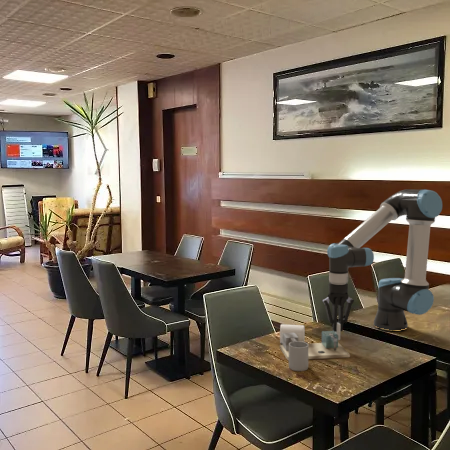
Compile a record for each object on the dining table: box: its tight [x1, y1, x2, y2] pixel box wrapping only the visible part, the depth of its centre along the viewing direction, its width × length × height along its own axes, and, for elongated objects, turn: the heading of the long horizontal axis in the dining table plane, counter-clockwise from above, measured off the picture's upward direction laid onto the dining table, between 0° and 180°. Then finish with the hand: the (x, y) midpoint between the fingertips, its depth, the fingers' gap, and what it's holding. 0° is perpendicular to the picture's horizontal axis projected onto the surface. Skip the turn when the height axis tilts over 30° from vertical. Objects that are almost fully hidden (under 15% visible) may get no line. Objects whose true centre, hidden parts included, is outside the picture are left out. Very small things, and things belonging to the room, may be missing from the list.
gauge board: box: [279, 333, 351, 361], centre depth 197 cm, size 25×14×6 cm, turn 96°
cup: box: [288, 341, 309, 372], centre depth 182 cm, size 7×10×9 cm
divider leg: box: [321, 330, 339, 351], centre depth 198 cm, size 5×10×5 cm, turn 6°
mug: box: [279, 323, 306, 344], centre depth 209 cm, size 12×10×8 cm
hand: (337, 338), depth 201 cm, fingers closed
